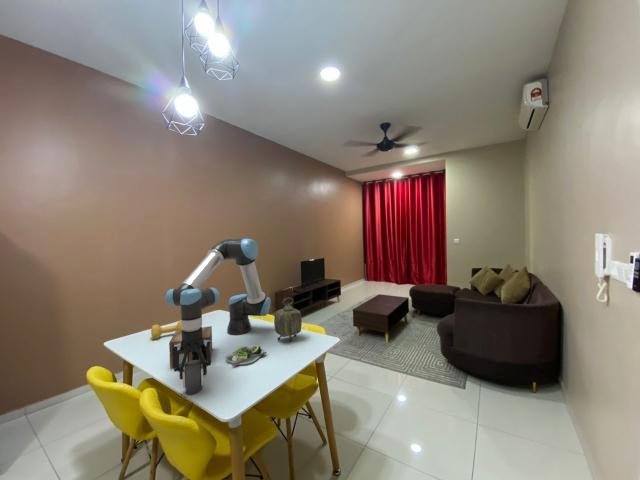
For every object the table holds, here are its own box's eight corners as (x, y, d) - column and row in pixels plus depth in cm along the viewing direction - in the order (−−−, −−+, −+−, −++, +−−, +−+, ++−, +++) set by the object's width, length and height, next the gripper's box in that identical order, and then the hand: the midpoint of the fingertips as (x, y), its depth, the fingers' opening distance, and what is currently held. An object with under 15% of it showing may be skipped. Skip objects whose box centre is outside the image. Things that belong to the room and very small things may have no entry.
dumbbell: (151, 341, 154) (150, 328, 154) (151, 336, 162) (151, 323, 162) (186, 334, 164) (186, 322, 164) (185, 330, 172) (185, 318, 172)
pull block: (205, 369, 121) (204, 346, 121) (201, 392, 103) (200, 365, 103) (191, 371, 119) (190, 348, 119) (184, 396, 101) (183, 368, 101)
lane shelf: (212, 348, 143) (211, 326, 143) (210, 361, 128) (209, 336, 128) (176, 354, 137) (175, 330, 137) (170, 368, 122) (169, 342, 122)
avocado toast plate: (246, 372, 119) (246, 362, 119) (216, 365, 125) (216, 355, 125) (270, 353, 137) (269, 344, 137) (242, 348, 143) (242, 340, 143)
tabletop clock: (296, 334, 160) (295, 294, 160) (303, 339, 153) (302, 297, 152) (274, 340, 152) (273, 298, 152) (280, 345, 145) (279, 301, 144)
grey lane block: (189, 357, 133) (189, 348, 133) (188, 363, 128) (187, 353, 127) (178, 359, 132) (178, 349, 131) (176, 365, 126) (176, 355, 126)
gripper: (217, 322, 111) (219, 375, 112) (167, 328, 105) (169, 384, 105) (216, 328, 104) (218, 384, 104) (162, 335, 98) (165, 395, 98)
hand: (193, 384), depth 105 cm, fingers closed on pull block, 6 cm apart
